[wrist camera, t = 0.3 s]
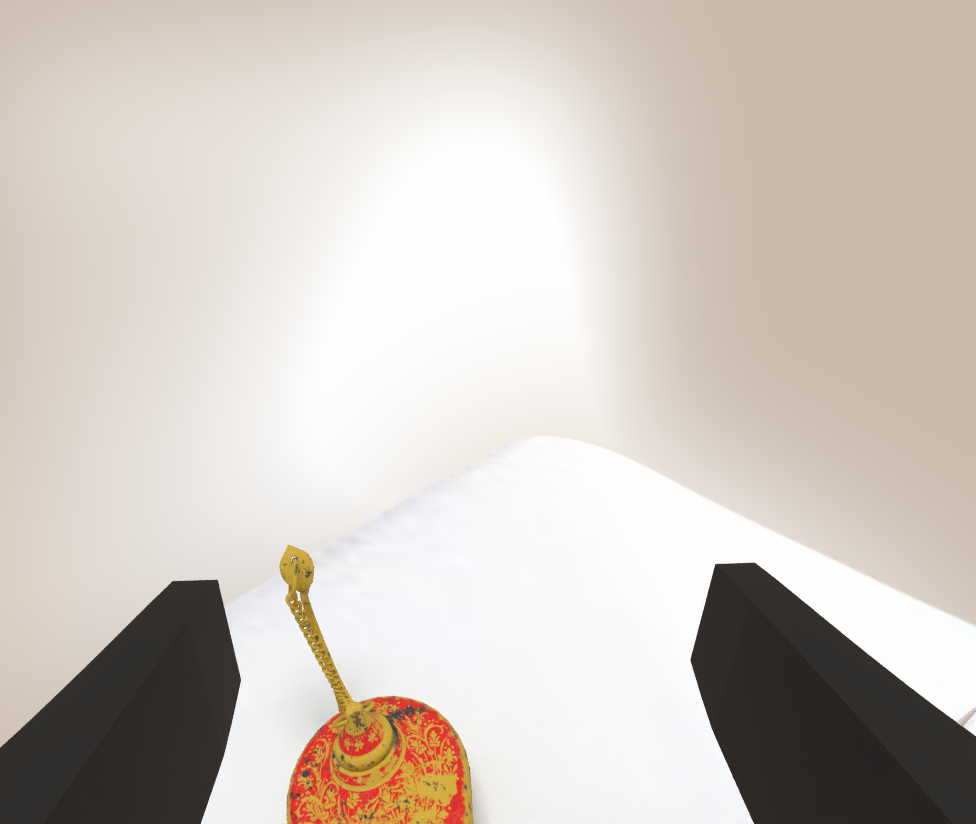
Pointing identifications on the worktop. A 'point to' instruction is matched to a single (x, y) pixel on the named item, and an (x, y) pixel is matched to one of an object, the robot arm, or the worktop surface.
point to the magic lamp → (373, 748)
